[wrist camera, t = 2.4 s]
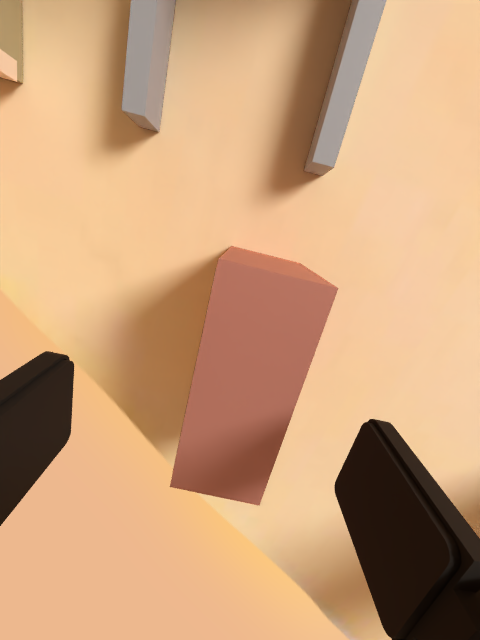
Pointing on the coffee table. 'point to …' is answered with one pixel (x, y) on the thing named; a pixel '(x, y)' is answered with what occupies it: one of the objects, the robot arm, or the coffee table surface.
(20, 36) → the olive rectangular block
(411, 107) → the coffee table surface
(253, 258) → the reddish pink rectangular block
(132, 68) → the shelf slot
